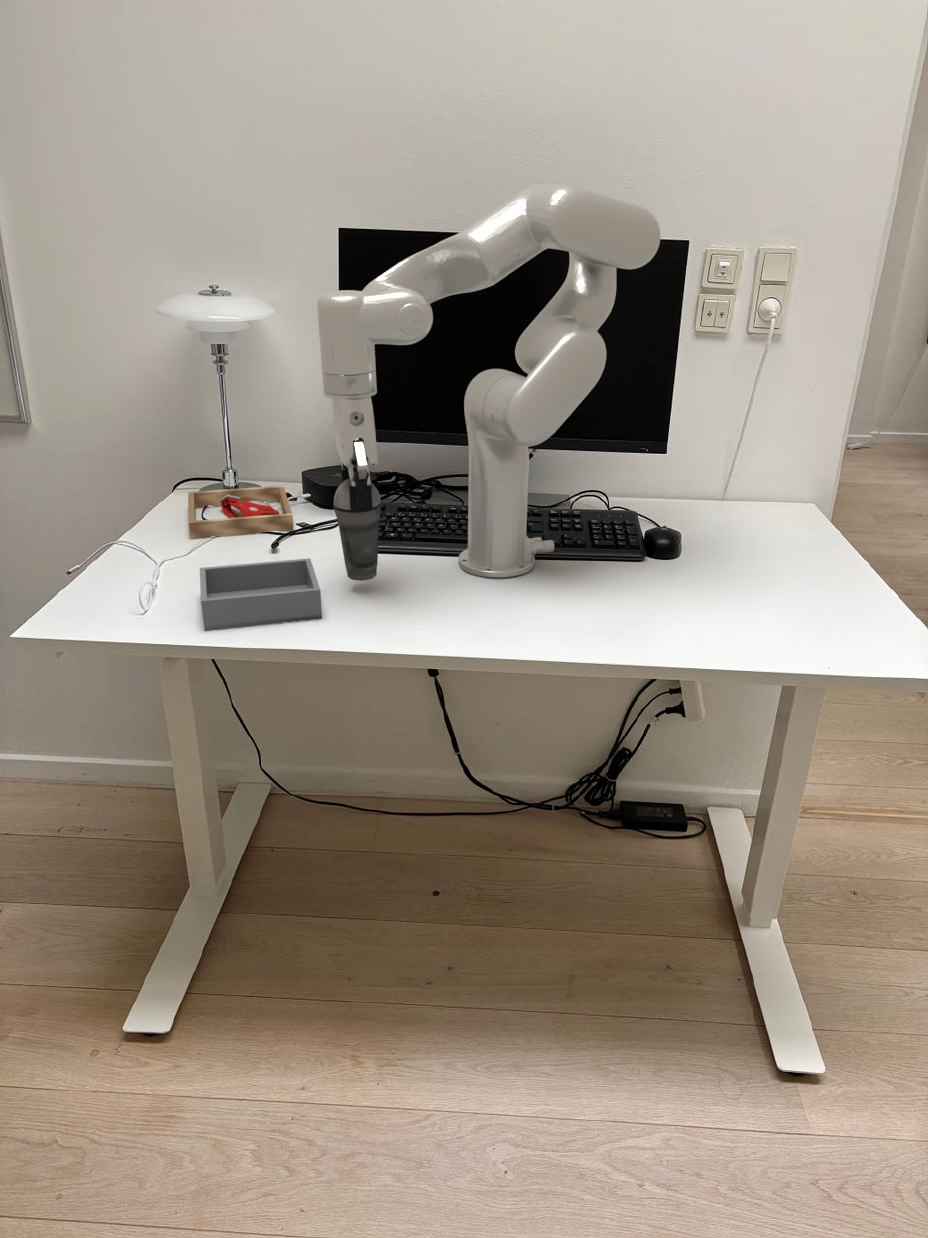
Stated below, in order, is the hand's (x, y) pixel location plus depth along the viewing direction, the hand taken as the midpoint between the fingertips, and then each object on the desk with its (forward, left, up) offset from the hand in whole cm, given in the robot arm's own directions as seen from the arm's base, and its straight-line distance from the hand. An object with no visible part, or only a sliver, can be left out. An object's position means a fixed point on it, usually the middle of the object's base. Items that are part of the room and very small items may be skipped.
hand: (357, 501), depth 143 cm
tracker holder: (+15, -39, -15) cm, 44 cm away
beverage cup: (0, 0, -12) cm, 12 cm away
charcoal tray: (+16, +3, -14) cm, 21 cm away
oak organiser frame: (+17, -38, -14) cm, 44 cm away
